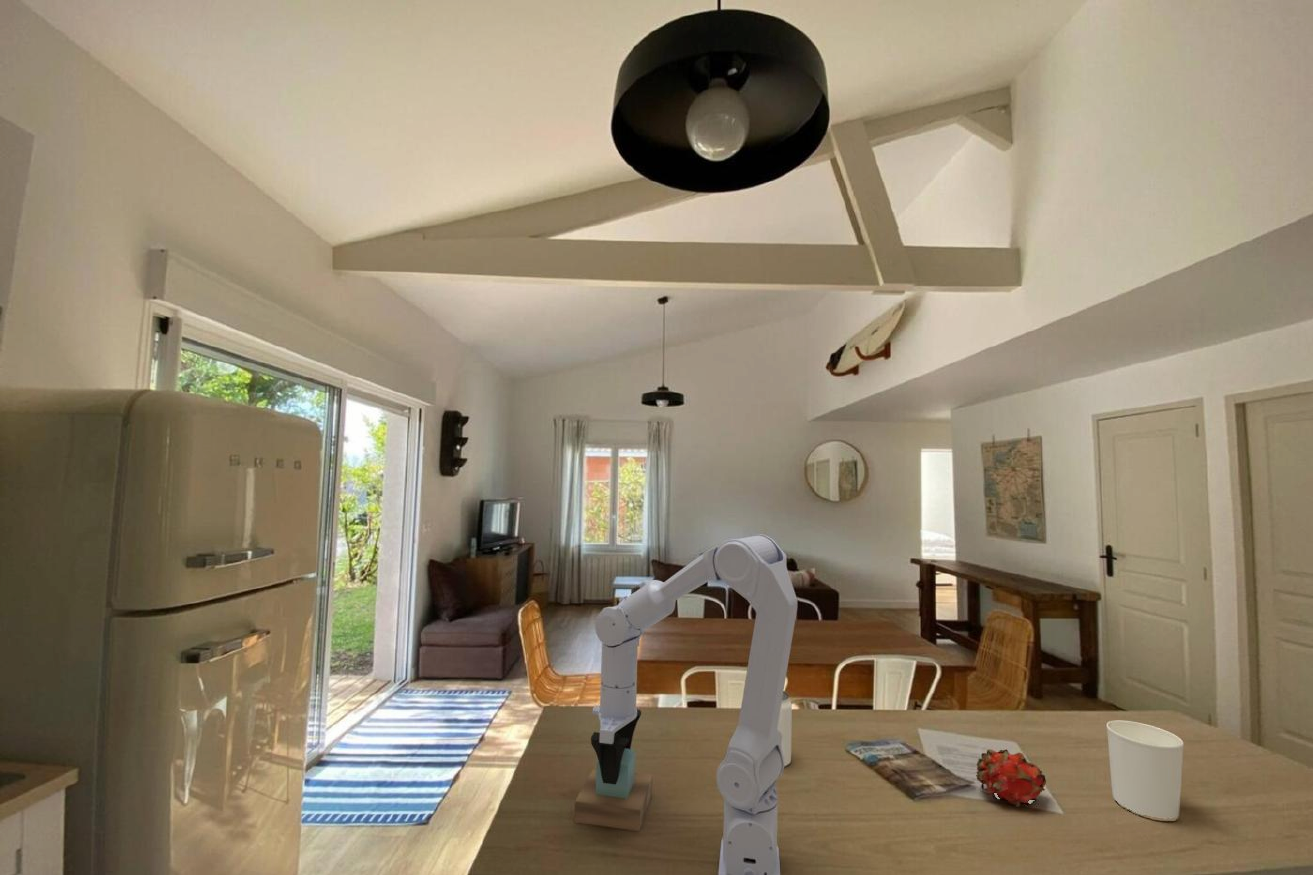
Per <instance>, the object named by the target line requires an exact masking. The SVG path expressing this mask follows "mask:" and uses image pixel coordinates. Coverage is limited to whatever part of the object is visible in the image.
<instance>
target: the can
mask: <svg viewBox="0 0 1313 875" xmlns="http://www.w3.org/2000/svg"><path fill="white" fill-rule="evenodd" d="M790 697H791V696H790V693H788V692H787V691H786V690H784V691H783V697H782V703H781V709H780V715H779V721H778V727H777V730H778V731H779V732H780V733H781V734H782V741H781V748H782V753H783V756H784V768H785V767H787V766H789V764H790V763H791V761H792V724H793V722H792V716H793V715H792V711H793V710H792V709H793V708H792V702H791V700H790Z"/></svg>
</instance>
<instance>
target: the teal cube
mask: <svg viewBox="0 0 1313 875" xmlns="http://www.w3.org/2000/svg"><path fill="white" fill-rule="evenodd" d="M595 768H596V794H597V795H604V796H611V797H619V798H626V799H627V798H628V796H629V793H630V791H631V788H632V786H633V784H634V777H635V773H636V769H635V768H636V749H633V748H630V749H626V748H625V750H624V753H623V756H622V760H621V766H620V773H619V777H618V781H617V783H616V784H607V783H603V780H602V776H601V770H600V765H599V760H598V759H597V760H596V767H595Z"/></svg>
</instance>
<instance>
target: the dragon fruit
mask: <svg viewBox="0 0 1313 875" xmlns="http://www.w3.org/2000/svg"><path fill="white" fill-rule="evenodd" d="M976 766H977V769H976V770H977V771H975V772H976V776H975V777H976V779H977V781H978V782H979V783H981V785H980V787H981V789H982V791H983V792H985V793H989V794H993V793H997V795H998V797H999V798H1000V800H1001V799H1005V800H1006V801H1008V803H1009V802H1010V803H1011V805H1014V807H1016V808H1017V807H1020V804H1021V803H1025V804H1027V803H1028V801H1029V800H1036V801H1037V797H1038V796H1040V794H1041V793H1042V792H1044V791H1045V788H1044V787H1045V786H1046V784H1047V780H1046V776H1045V774H1043V771H1041V768H1039V767H1038V766H1037V764H1035V763H1032V762H1029V761H1028V760H1027V758H1026V757H1025V755H1024V754H1023V752H1022V753H1021V752H1016V753H1015V754H1011V753H1010V752H1009V750H1008V749H1000V750H999V751H995V750H993V749H990V748H989V749H987V750H986V752H982V753H981V758H978V760H977V761H976ZM985 785H986V787H987V788H985ZM1010 803H1009V804H1010Z"/></svg>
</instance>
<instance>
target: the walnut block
mask: <svg viewBox="0 0 1313 875" xmlns="http://www.w3.org/2000/svg"><path fill="white" fill-rule="evenodd" d="M652 795H653V775H652V774H645V773H639V772H638V773H637V772H635V777H634V784H633V786H632V788H631V791H630V793H629V796H628V798H627V799H626V798H619V797H611V796H604V795H597V794H596V767H593V769H592V771H591V772H590V774H589V775H588V778H586V781H585V783H584V784H583V786H582V788H581V790H580V792H579V793H578V795H577V797H576V799H575V801H574V820H573V821H574V823H576V824H577V823H579V824H586V825H593V826H599V827H600V826H601V827H608V828H613V829H614V828H615V829H621V830H628V831H637V832H640V831H641V828H642V825H643V822H644V818H645V816H646V813H647V811H648V806H649V803H650V800H651V797H652Z"/></svg>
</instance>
